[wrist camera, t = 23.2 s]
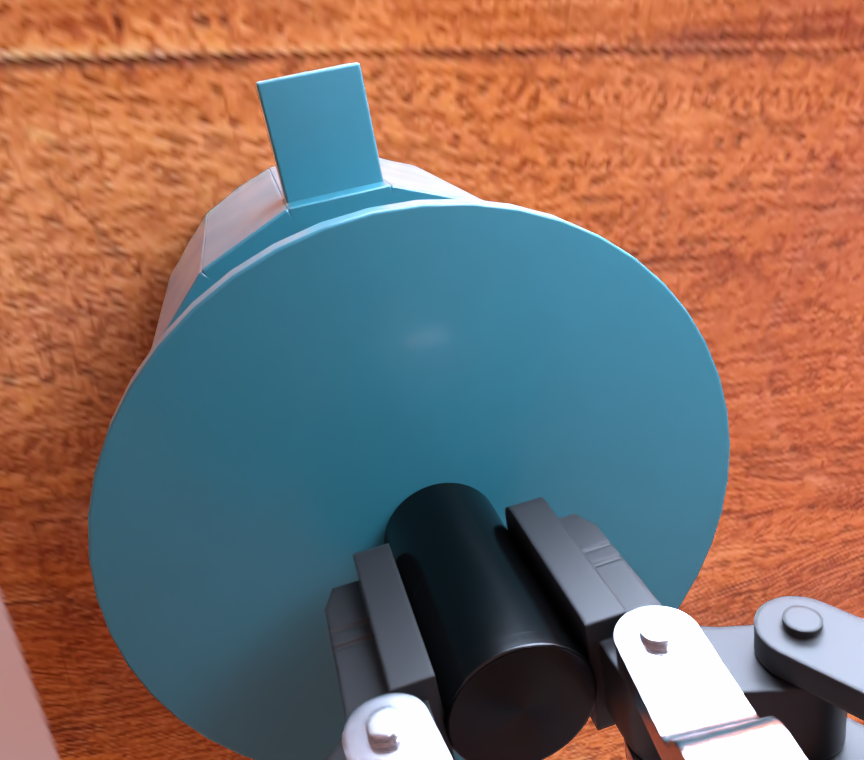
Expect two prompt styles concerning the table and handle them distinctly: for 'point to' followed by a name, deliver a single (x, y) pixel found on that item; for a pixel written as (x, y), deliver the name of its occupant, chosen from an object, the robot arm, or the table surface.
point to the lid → (400, 468)
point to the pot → (299, 179)
